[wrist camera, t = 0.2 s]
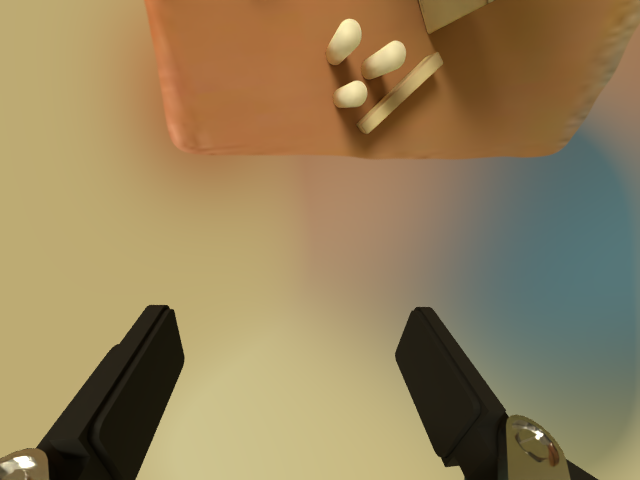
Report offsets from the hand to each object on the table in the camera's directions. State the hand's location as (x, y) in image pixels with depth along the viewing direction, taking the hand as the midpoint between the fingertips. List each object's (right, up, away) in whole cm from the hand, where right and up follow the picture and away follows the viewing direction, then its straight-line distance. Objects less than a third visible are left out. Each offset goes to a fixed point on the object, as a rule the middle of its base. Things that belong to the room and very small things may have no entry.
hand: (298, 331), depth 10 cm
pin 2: (+7, +26, +22) cm, 35 cm away
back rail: (+11, +24, +24) cm, 35 cm away
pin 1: (+4, +23, +23) cm, 33 cm away
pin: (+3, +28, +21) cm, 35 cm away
